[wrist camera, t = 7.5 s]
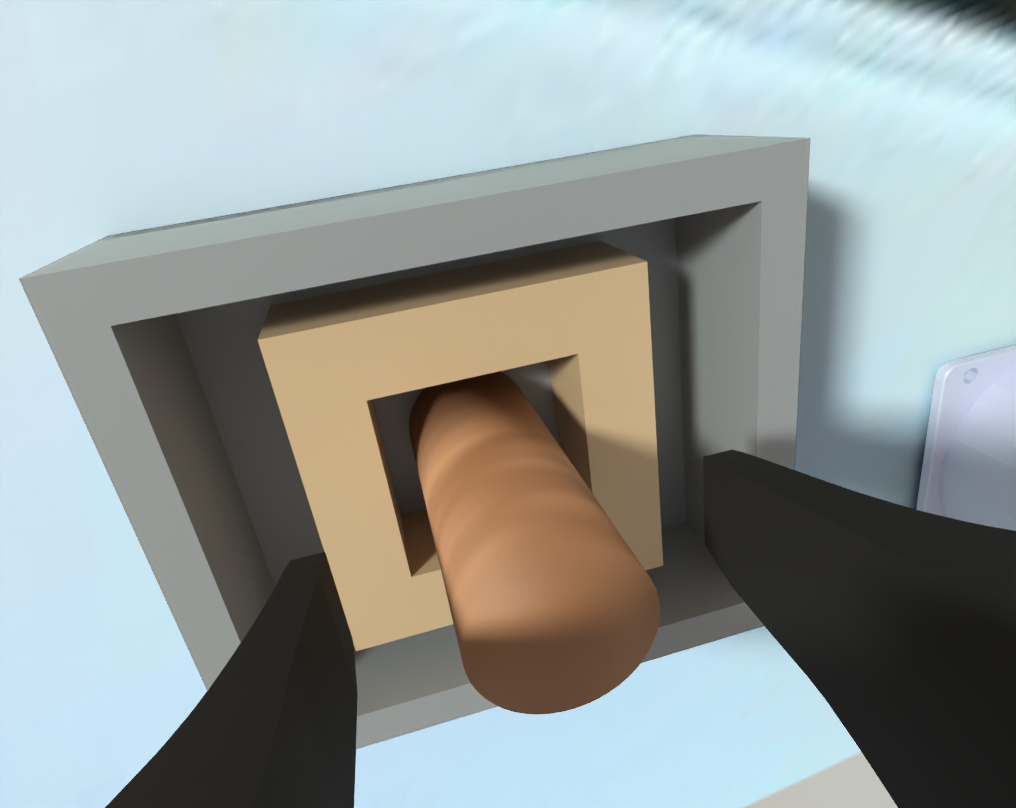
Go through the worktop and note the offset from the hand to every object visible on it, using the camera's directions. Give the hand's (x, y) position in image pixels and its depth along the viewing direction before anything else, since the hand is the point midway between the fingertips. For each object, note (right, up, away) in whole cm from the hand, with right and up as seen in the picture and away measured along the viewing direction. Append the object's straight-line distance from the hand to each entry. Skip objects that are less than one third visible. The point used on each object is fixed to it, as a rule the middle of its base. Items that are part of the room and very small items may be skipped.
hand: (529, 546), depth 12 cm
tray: (-2, +2, +6) cm, 7 cm away
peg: (-1, +2, +5) cm, 6 cm away
